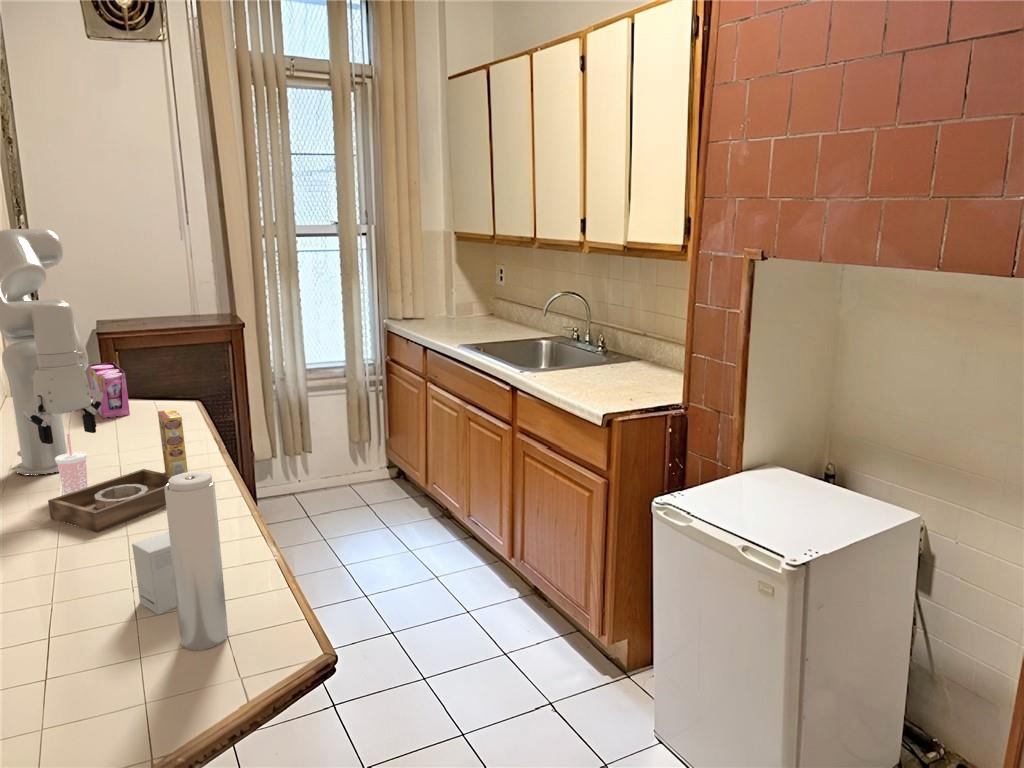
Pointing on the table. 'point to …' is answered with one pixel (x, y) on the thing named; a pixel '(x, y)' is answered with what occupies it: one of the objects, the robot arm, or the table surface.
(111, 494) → the socket ring
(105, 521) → the walnut box
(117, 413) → the gum box
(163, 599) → the skincare box
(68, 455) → the beverage cup
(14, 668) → the table surface
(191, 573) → the white tall cylinder
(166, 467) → the candy box
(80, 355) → the robot arm
